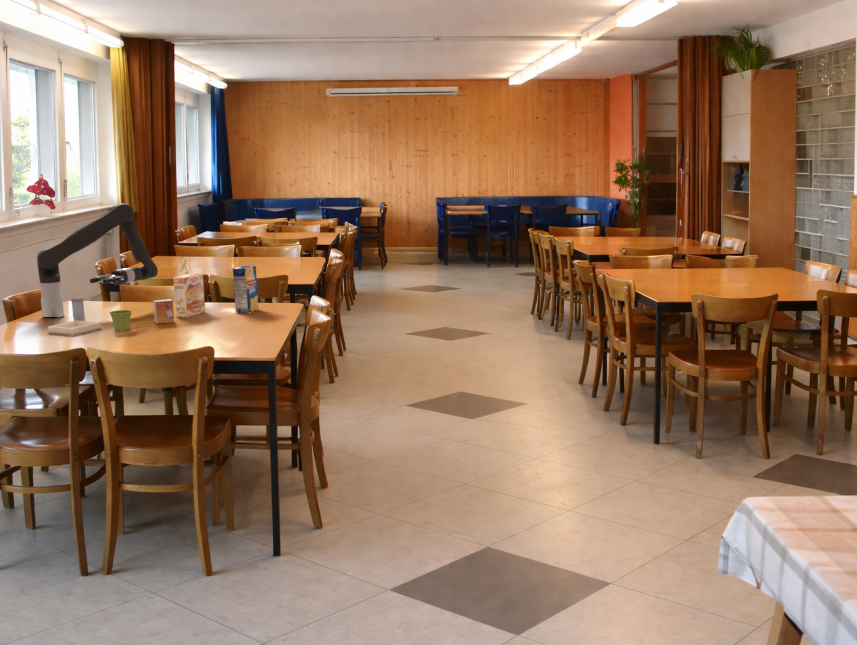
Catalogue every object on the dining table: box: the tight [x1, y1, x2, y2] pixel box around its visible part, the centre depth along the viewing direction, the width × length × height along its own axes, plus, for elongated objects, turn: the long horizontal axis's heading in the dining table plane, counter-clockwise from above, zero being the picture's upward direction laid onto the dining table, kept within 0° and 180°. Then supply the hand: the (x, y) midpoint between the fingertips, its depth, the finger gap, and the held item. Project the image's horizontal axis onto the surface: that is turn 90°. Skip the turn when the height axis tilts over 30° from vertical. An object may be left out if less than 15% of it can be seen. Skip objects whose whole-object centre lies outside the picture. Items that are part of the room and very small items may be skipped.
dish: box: [47, 320, 102, 337], centre depth 359 cm, size 15×15×3 cm
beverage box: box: [232, 265, 259, 314], centre depth 401 cm, size 7×11×22 cm, turn 165°
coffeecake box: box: [172, 273, 206, 318], centre depth 395 cm, size 15×7×20 cm, turn 160°
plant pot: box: [109, 309, 133, 332], centre depth 360 cm, size 9×9×9 cm
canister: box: [70, 297, 86, 321], centre depth 377 cm, size 5×5×12 cm
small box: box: [153, 298, 175, 325], centre depth 378 cm, size 8×6×10 cm
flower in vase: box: [177, 258, 190, 275], centre depth 421 cm, size 13×11×25 cm
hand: (96, 281), depth 385 cm, fingers open, 8 cm apart
